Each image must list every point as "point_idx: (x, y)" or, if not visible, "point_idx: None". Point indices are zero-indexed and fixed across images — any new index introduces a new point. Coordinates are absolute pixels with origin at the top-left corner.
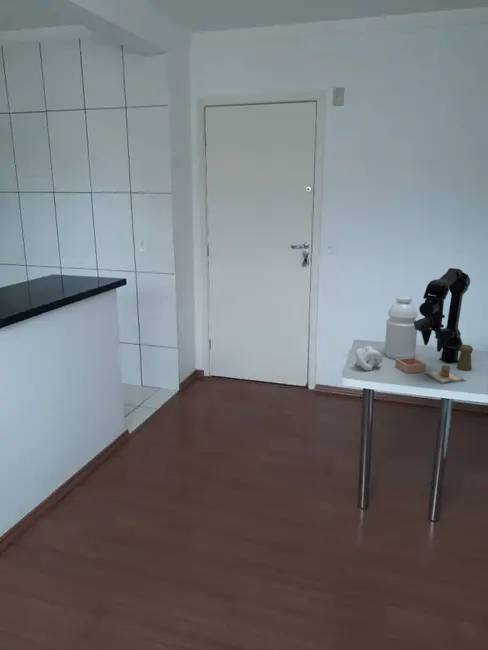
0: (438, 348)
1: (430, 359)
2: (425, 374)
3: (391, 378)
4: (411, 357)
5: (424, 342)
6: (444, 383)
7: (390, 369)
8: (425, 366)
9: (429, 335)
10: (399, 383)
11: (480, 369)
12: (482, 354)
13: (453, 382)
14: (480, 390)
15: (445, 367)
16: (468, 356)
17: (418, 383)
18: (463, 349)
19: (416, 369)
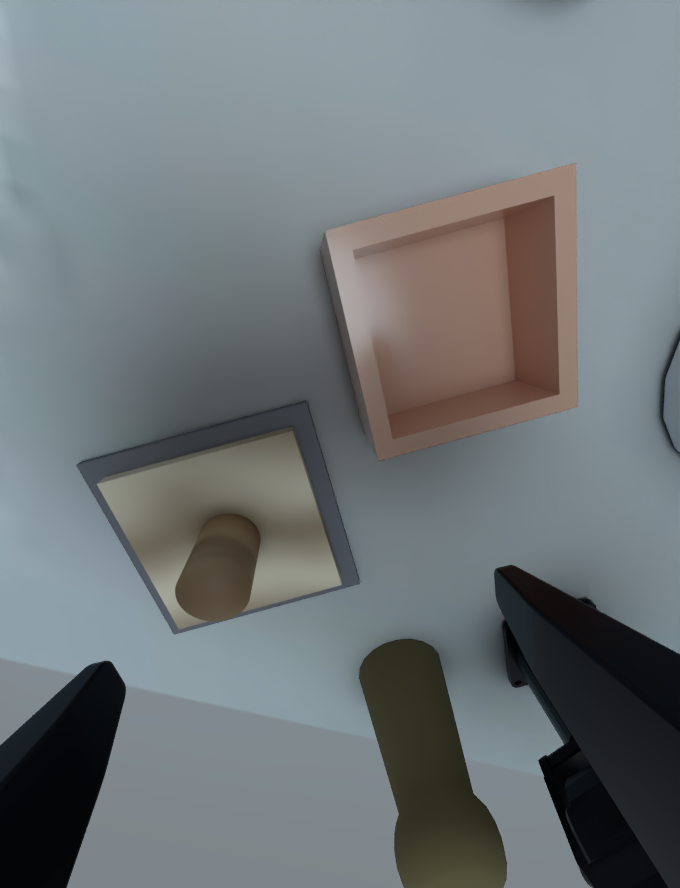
0: (10, 744)
1: (613, 551)
2: (299, 415)
3: (202, 6)
4: (675, 431)
5: (533, 597)
6: (97, 490)
7: (478, 122)
8: (373, 449)
9: (672, 873)
10: (45, 49)
11: None
12: None
13: (133, 554)
14: (29, 656)
15: (186, 583)
16: (392, 791)
17: (87, 280)
18: (421, 844)
19: (347, 354)
